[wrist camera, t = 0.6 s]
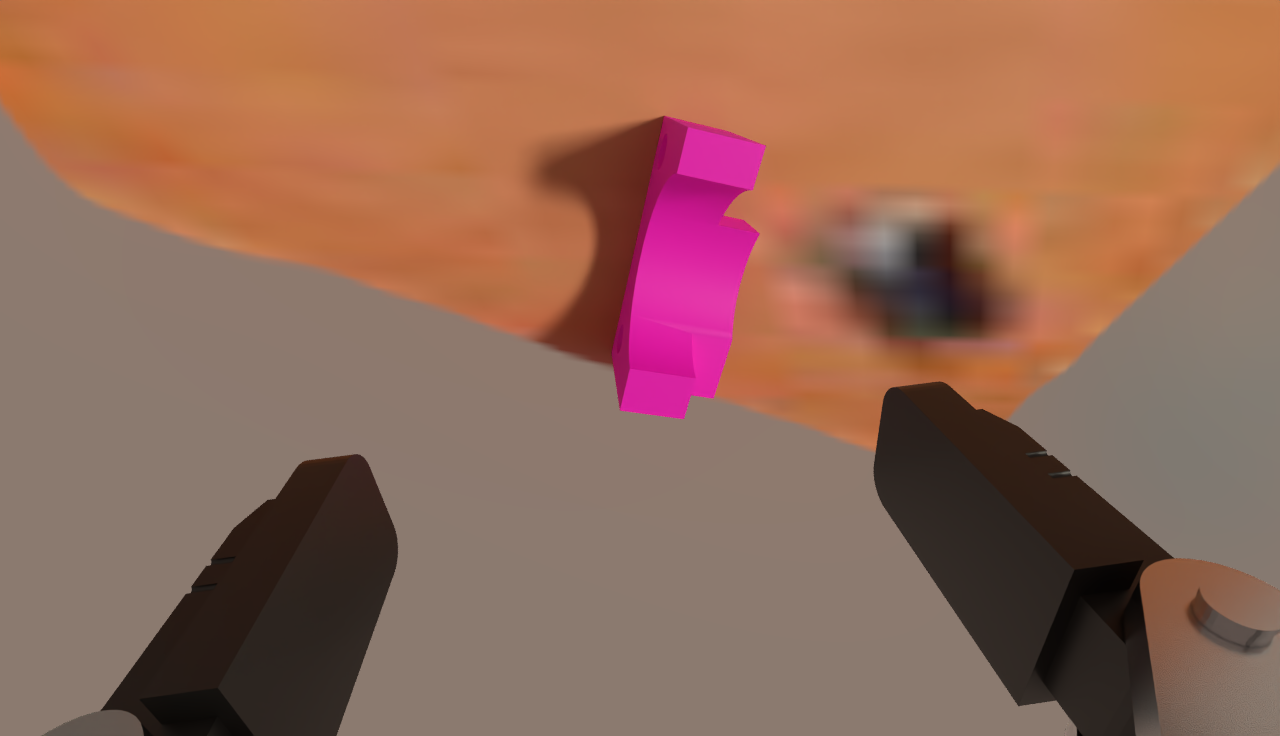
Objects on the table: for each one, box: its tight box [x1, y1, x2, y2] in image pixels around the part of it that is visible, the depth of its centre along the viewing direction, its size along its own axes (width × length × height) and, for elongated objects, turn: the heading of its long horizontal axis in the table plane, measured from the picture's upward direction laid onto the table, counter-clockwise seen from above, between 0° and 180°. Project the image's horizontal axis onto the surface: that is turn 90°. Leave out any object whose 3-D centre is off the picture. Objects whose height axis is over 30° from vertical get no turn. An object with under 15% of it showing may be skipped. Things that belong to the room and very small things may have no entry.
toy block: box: [612, 116, 766, 419], centre depth 33 cm, size 15×6×8 cm, turn 167°
